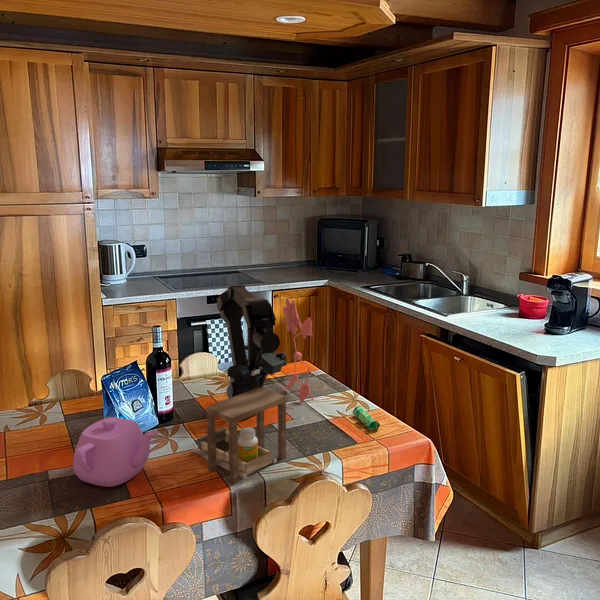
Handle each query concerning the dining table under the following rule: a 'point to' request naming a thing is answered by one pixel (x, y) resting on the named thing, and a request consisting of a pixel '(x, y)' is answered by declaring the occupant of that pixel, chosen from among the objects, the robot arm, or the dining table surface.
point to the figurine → (291, 323)
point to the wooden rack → (247, 468)
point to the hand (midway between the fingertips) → (258, 393)
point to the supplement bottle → (247, 445)
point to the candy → (366, 418)
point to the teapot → (111, 452)
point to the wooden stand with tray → (232, 413)
